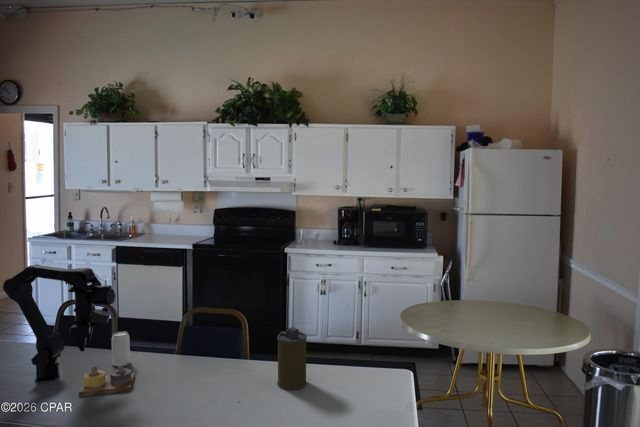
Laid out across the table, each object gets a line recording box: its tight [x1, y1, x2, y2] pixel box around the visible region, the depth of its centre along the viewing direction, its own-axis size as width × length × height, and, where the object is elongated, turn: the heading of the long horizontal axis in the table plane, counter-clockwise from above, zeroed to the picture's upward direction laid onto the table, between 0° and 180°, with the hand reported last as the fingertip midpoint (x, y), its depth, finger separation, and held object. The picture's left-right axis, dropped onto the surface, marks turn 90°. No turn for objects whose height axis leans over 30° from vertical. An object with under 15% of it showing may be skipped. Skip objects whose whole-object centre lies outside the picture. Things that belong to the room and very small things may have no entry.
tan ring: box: [83, 369, 106, 387], centre depth 163 cm, size 6×6×3 cm
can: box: [111, 330, 131, 367], centre depth 183 cm, size 6×6×12 cm
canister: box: [276, 326, 308, 391], centre depth 166 cm, size 11×10×20 cm
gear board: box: [78, 364, 136, 397], centre depth 164 cm, size 16×12×7 cm
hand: (85, 346), depth 168 cm, fingers open, 9 cm apart
